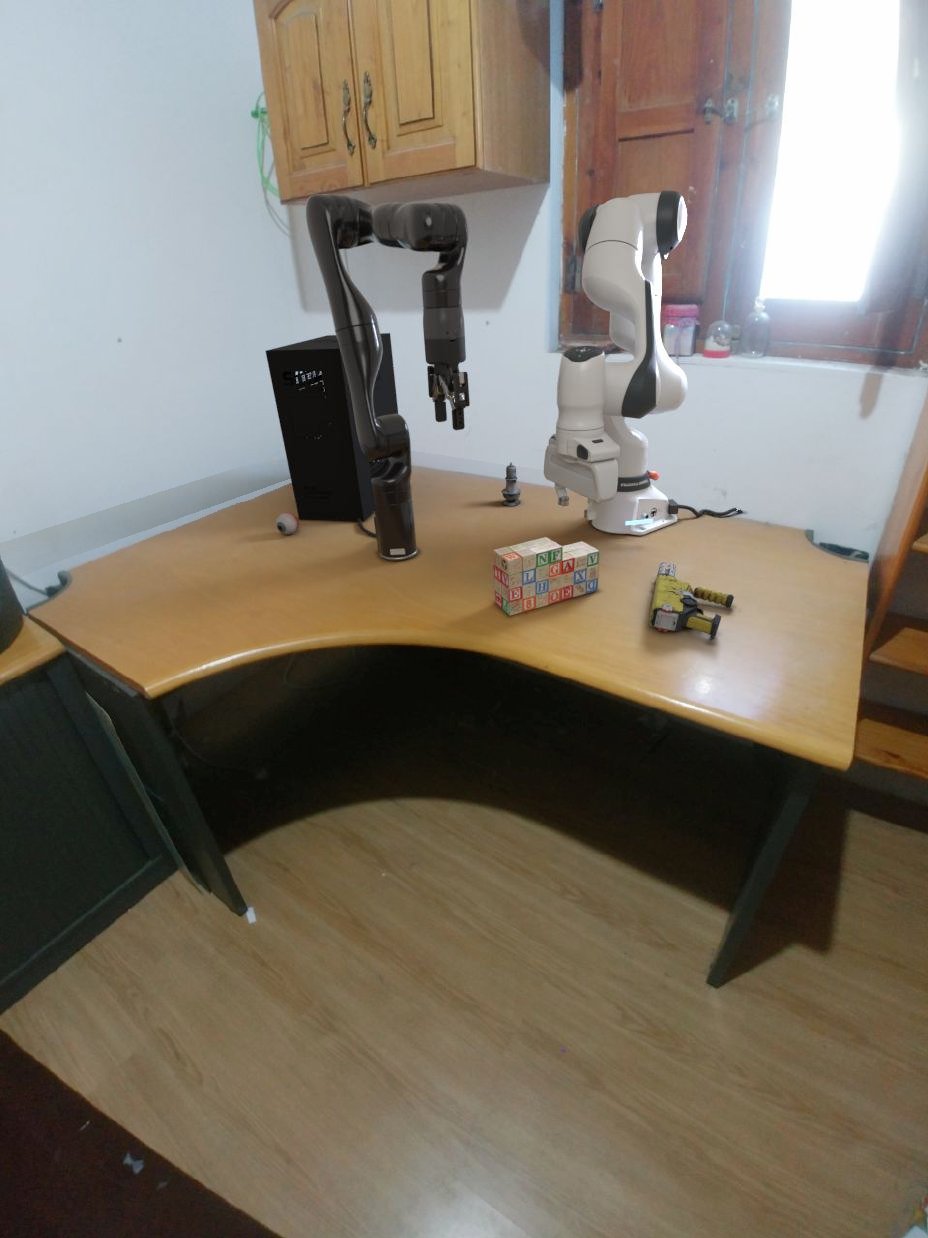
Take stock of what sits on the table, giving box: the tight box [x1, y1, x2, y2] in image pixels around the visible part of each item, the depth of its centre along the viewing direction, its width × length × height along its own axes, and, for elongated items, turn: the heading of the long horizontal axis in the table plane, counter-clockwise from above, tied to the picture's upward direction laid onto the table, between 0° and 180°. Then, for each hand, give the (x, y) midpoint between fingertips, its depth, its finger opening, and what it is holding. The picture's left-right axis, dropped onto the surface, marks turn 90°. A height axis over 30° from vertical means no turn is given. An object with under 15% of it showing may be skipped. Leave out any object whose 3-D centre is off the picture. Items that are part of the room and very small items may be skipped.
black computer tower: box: [265, 332, 399, 522], centre depth 177 cm, size 38×20×45 cm, turn 167°
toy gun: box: [648, 561, 735, 640], centre depth 118 cm, size 5×24×15 cm
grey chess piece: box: [501, 462, 522, 507], centre depth 175 cm, size 6×6×12 cm
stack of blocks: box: [493, 536, 600, 616], centre depth 123 cm, size 21×6×12 cm, turn 115°
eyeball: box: [275, 511, 300, 536], centre depth 163 cm, size 6×6×6 cm
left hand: (449, 425), depth 118 cm, fingers open, 8 cm apart
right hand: (576, 511), depth 120 cm, fingers open, 8 cm apart
